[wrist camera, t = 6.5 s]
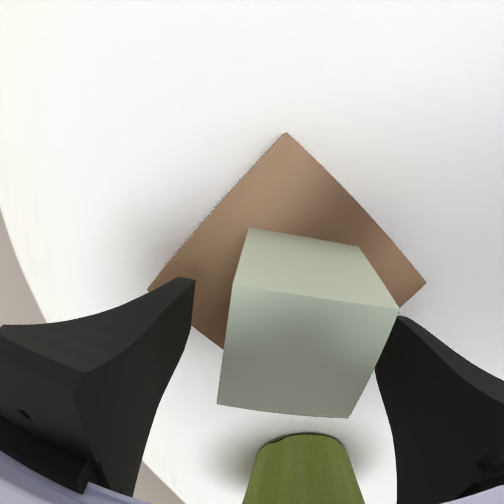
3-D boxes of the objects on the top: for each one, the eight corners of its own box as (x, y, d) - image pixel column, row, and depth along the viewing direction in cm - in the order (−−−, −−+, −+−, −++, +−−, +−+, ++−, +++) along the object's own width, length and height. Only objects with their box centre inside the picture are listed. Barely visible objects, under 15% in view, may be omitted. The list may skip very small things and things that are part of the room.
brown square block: (404, 258, 16) (426, 282, 13) (286, 359, 18) (288, 394, 16) (283, 133, 14) (286, 132, 11) (166, 264, 17) (146, 289, 14)
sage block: (358, 246, 12) (400, 308, 8) (330, 336, 14) (348, 418, 9) (248, 227, 12) (232, 283, 8) (234, 322, 14) (216, 404, 9)
